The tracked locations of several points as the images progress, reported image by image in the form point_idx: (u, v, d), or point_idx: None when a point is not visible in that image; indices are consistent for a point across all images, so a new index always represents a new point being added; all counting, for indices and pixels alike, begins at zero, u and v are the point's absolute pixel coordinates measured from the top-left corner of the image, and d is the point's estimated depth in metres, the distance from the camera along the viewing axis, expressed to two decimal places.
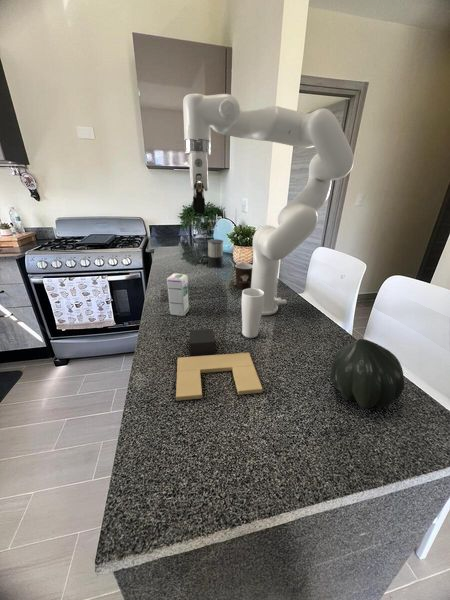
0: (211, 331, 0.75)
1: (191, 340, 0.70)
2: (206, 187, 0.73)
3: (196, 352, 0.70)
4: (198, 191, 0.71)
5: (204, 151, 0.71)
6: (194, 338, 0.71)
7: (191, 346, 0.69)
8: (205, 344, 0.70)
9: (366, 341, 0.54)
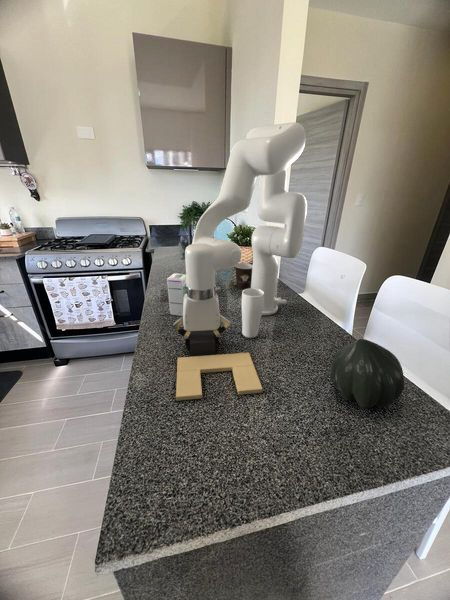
0: (211, 331, 0.75)
1: (191, 340, 0.70)
2: None
3: (196, 352, 0.70)
4: None
5: None
6: (194, 338, 0.71)
7: (191, 346, 0.69)
8: (205, 344, 0.70)
9: (366, 341, 0.54)
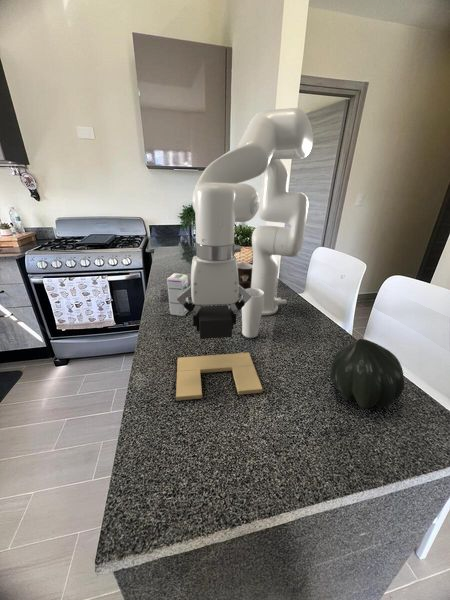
0: (226, 308, 0.58)
1: (201, 317, 0.54)
2: None
3: (207, 333, 0.54)
4: None
5: None
6: (204, 315, 0.55)
7: (202, 325, 0.53)
8: (220, 322, 0.53)
9: (366, 341, 0.54)
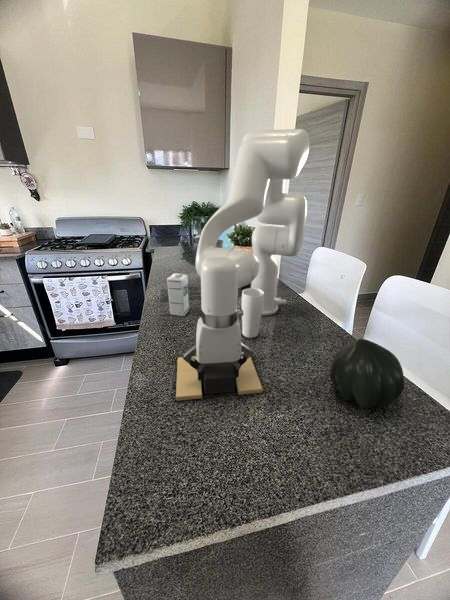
0: None
1: (206, 374, 0.57)
2: None
3: (212, 389, 0.57)
4: None
5: None
6: (209, 371, 0.58)
7: (206, 382, 0.56)
8: (223, 379, 0.56)
9: (366, 341, 0.54)
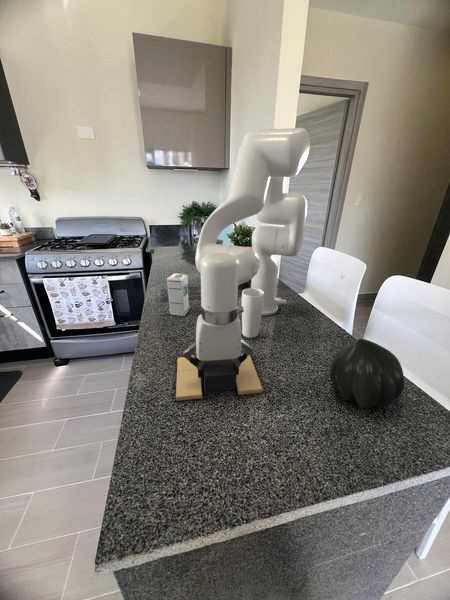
0: None
1: (206, 372, 0.57)
2: None
3: (212, 386, 0.57)
4: None
5: None
6: (209, 369, 0.58)
7: (206, 379, 0.56)
8: (223, 376, 0.56)
9: (366, 341, 0.54)
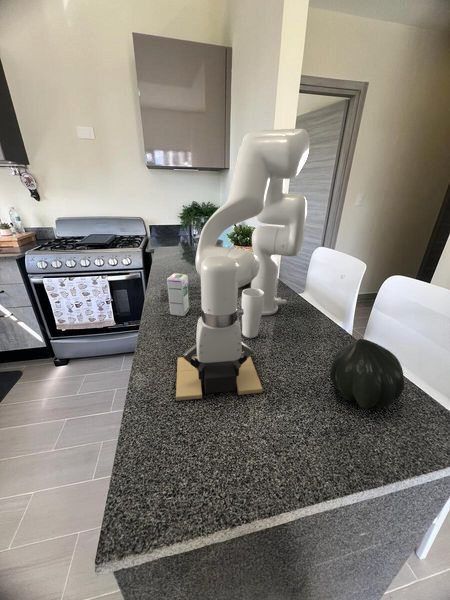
0: None
1: (206, 373, 0.57)
2: None
3: (212, 388, 0.57)
4: None
5: None
6: (209, 370, 0.58)
7: (207, 381, 0.56)
8: (224, 378, 0.57)
9: (366, 341, 0.54)
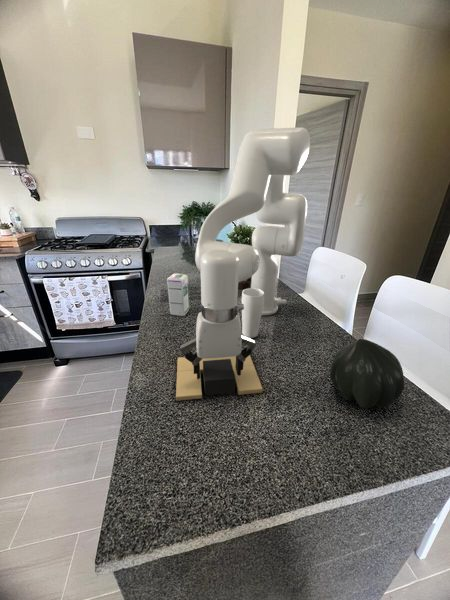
0: (229, 362, 0.62)
1: (206, 376, 0.57)
2: None
3: (212, 390, 0.58)
4: None
5: None
6: (209, 373, 0.58)
7: (206, 384, 0.56)
8: (223, 380, 0.57)
9: (366, 341, 0.54)
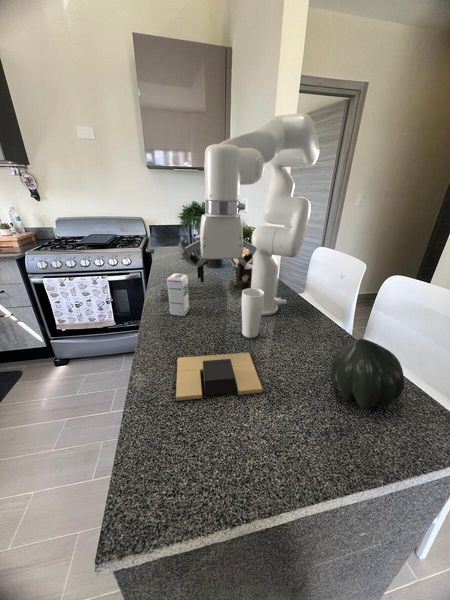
0: (229, 362, 0.62)
1: (206, 376, 0.57)
2: None
3: (212, 390, 0.58)
4: None
5: None
6: (209, 373, 0.58)
7: (206, 384, 0.56)
8: (223, 380, 0.57)
9: (366, 341, 0.54)
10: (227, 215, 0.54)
